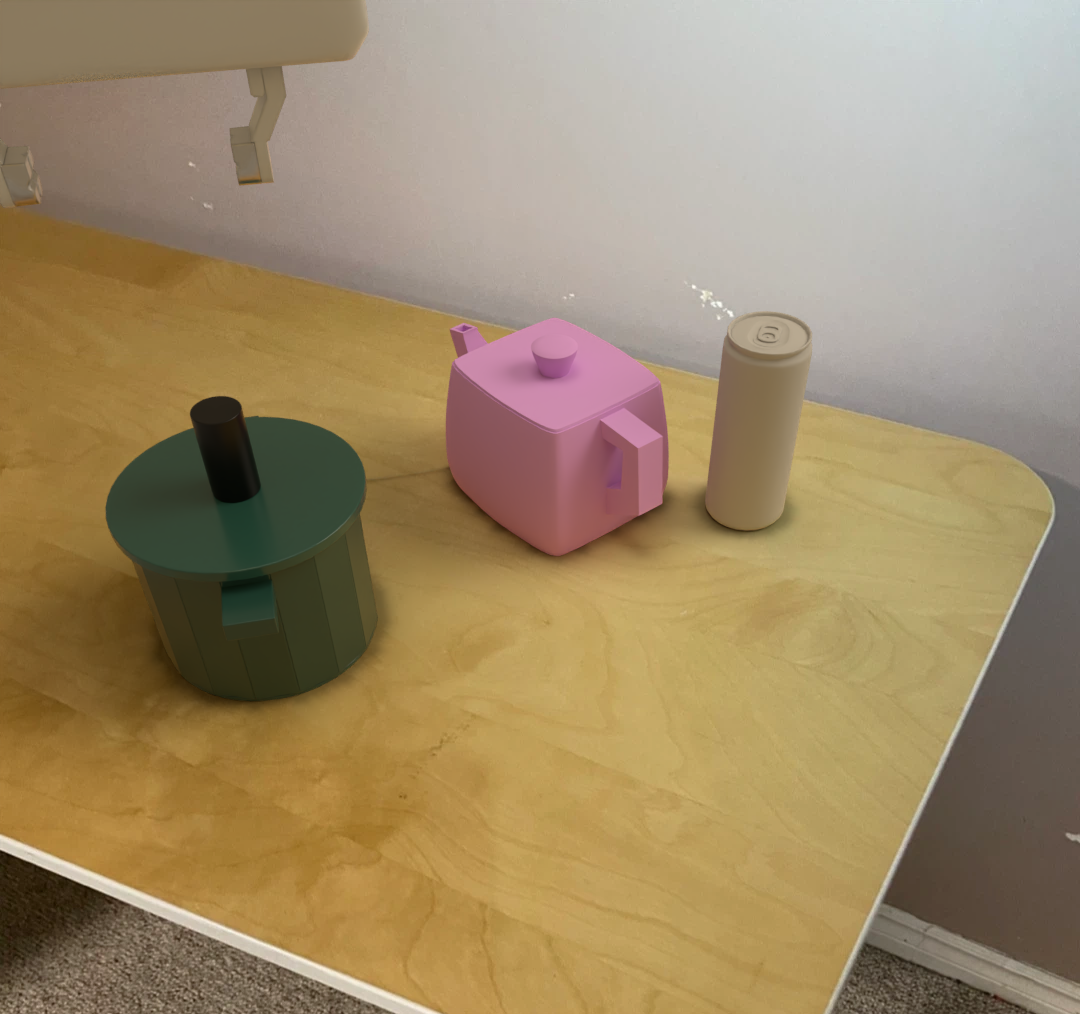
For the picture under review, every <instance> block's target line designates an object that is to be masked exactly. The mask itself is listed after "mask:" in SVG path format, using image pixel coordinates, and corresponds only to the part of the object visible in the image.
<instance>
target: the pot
mask: <svg viewBox="0 0 1080 1014" xmlns="http://www.w3.org/2000/svg"><path fill="white" fill-rule="evenodd" d="M245 417H246V416H244V418H245ZM250 417H260V416H259V415H252V416H250ZM361 517H362V516H361V513H360V514H359V515H358V517H357V519H356V521H355V522H354V523H353V524H352V526H351V527H350V528H349V529H348V531H347V532H346V533H345V534H343V535H342V536H341V537H340V538H339V539H338V540H337V541H336V542H335V543H333V544H332V545H331V546H329V547H328V548H327V549H325V550H324V551H322V552H320V553H319V554H317V555H315V556H314V557H312V558H310V559H308V560H306V561H304V562H302V563H299V564H297V565H295V566H292V567H290V568H287V569H284V570H282V571H279V572H275V573H272V574H268V575H264V576H260V577H255V578H250V579H245V580H237V581H227V582H198V581H187V580H181V579H175V578H171V577H167V576H164V575H160V574H157V573H155V572H152V571H150V570H147V569H145V568H143V567H142V566H140V565H138V564H136V563H135V562H133V561H132V560H131V562H132V564H133V568H134V571H135V572H136V575H137V578H138V581H139V583H140V586H141V589H142V591H143V595H144V597H145V599H146V602H147V604H148V607H149V610H150V613H151V615H152V618H153V620H154V624H155V626H156V629H157V631H158V634H159V636H160V639H161V642H162V644H163V648H164V650H165V652H166V654H167V656H168V657H169V659H170V661H171V662H172V664H173V666H174V668H175V669H176V671H177V672H178V674H180V675H181V677H182V678H184V680H186V681H187V682H188V684H191V685H192V686H194V687H195V688H197V689H198V690H201V691H203V692H205V693H207V694H209V695H212V696H216V697H218V698H223V699H228V700H234V701H242V702H266V701H275V700H282V699H287V698H292V697H295V696H299V695H302V694H304V693H308V692H310V691H313V690H315V689H318V688H321V687H323V686H324V685H326V684H328V683H330V682H331V681H333V680H335V679H337V678H339V676H341V675H342V674H344V673H345V672H346V671H348V670H349V668H351V667H352V666H353V665H354V664H356V662H357V661H359V659H360V658H361V657H362V656H363V655H364V653H365V652H366V650H367V649H368V648H369V647H370V644H371V642H372V639H373V638H374V635H375V632H376V628H377V622H378V618H379V617H378V611H377V605H376V599H375V594H374V593H375V592H374V588H373V582H372V577H371V576H372V575H371V570H370V564H369V558H368V551H367V548H366V547H367V546H366V541H365V535H364V530H363V524H362V518H361Z"/></svg>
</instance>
